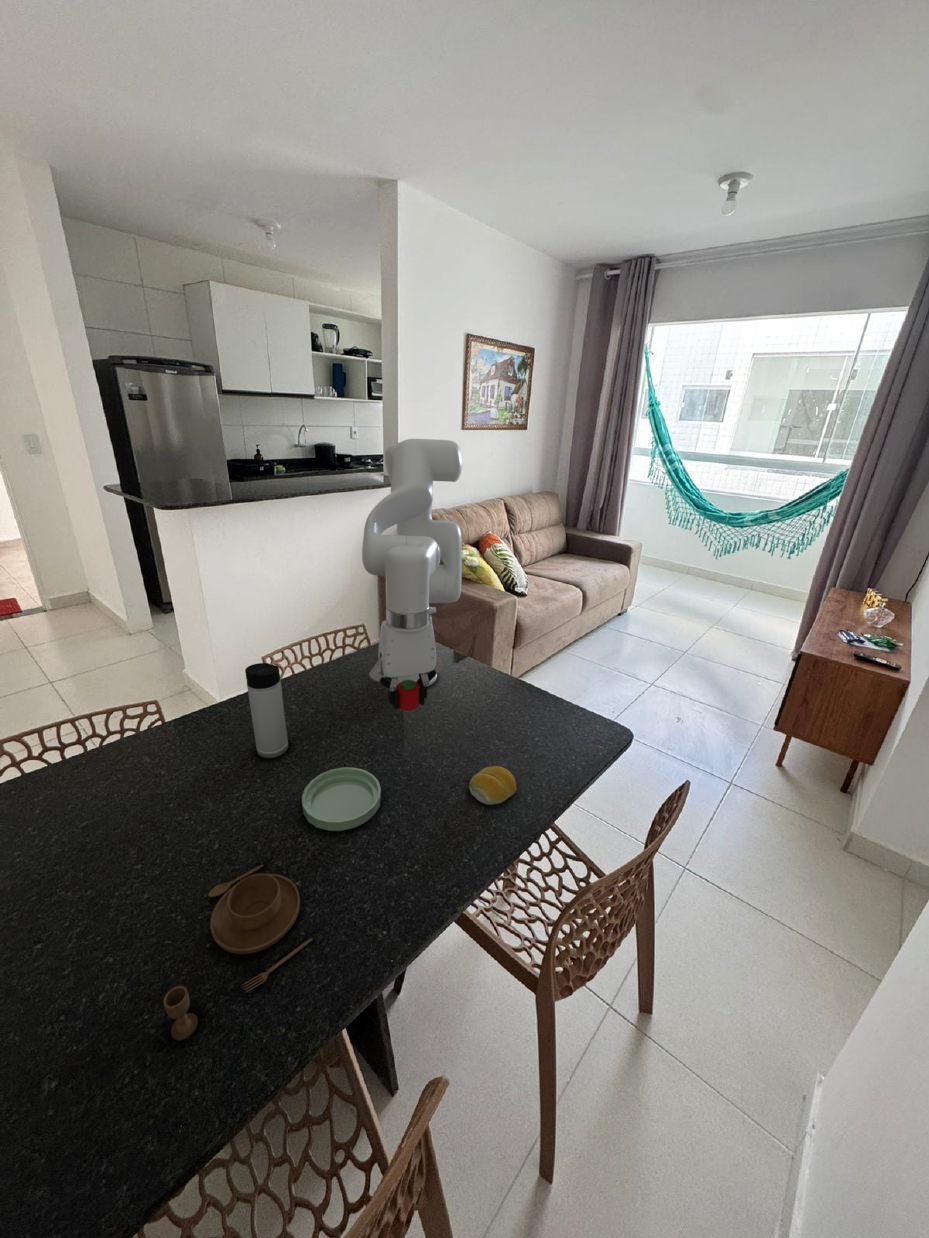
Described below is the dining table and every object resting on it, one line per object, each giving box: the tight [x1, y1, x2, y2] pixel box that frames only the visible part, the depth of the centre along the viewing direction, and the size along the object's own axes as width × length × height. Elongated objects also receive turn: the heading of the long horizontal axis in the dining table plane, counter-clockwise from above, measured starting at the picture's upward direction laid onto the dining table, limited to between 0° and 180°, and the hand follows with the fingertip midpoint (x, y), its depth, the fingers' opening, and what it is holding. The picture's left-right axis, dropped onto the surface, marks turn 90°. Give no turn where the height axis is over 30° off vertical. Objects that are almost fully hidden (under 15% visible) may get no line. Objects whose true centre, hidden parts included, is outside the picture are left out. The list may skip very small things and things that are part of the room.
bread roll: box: [468, 765, 517, 806], centre depth 99 cm, size 8×9×4 cm
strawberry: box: [397, 680, 420, 711], centre depth 97 cm, size 4×4×5 cm
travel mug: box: [244, 662, 289, 759], centre depth 104 cm, size 6×7×20 cm
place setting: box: [163, 864, 313, 1041], centre depth 70 cm, size 18×20×6 cm
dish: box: [301, 766, 382, 832], centre depth 94 cm, size 14×14×3 cm
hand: (407, 702), depth 98 cm, fingers closed on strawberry, 4 cm apart
